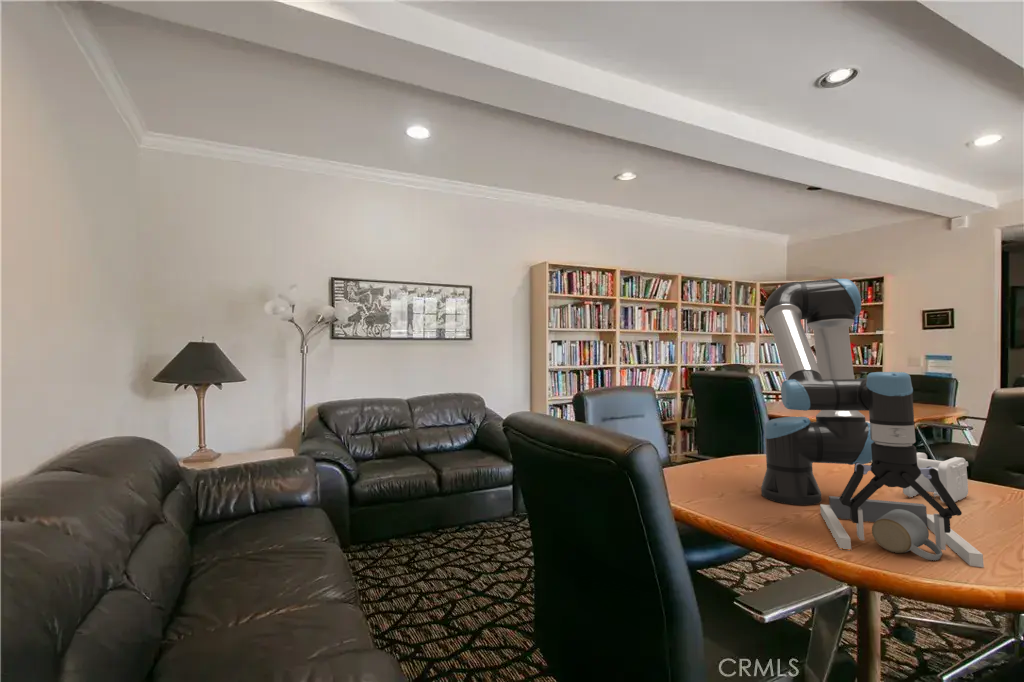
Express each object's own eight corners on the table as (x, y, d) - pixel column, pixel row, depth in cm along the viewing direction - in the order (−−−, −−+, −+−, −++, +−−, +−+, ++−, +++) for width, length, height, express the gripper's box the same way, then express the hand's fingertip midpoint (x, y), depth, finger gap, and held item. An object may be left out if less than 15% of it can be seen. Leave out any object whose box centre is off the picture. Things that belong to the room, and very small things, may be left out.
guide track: (840, 549, 98) (838, 525, 98) (820, 513, 120) (819, 494, 120) (983, 567, 88) (981, 541, 88) (934, 525, 109) (932, 504, 110)
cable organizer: (923, 489, 137) (921, 450, 138) (971, 498, 128) (968, 456, 129) (902, 498, 130) (899, 457, 130) (951, 508, 121) (948, 464, 121)
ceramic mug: (869, 547, 98) (868, 511, 99) (886, 538, 102) (885, 504, 103) (933, 566, 89) (931, 527, 89) (949, 556, 93) (947, 519, 93)
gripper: (827, 443, 100) (833, 540, 100) (978, 449, 90) (986, 559, 89) (821, 437, 107) (826, 528, 106) (961, 443, 96) (968, 544, 95)
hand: (899, 542), depth 97 cm, fingers open, 13 cm apart
